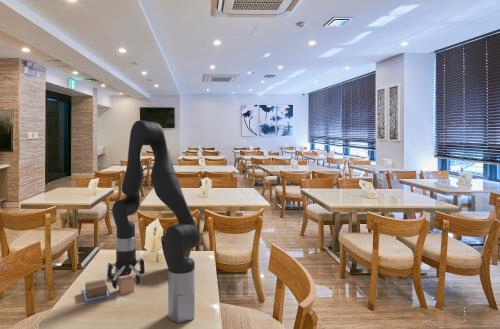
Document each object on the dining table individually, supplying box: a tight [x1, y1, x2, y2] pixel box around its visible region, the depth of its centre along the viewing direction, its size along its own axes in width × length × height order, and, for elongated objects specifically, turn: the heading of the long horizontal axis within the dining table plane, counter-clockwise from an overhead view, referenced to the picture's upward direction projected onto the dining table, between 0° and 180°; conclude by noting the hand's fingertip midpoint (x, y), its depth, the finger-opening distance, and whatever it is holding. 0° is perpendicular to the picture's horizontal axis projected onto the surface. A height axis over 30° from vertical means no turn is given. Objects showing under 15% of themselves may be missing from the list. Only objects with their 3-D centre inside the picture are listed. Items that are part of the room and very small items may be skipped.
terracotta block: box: [118, 274, 135, 296], centre depth 146 cm, size 5×5×6 cm
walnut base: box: [84, 278, 108, 299], centre depth 143 cm, size 7×7×4 cm
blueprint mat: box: [80, 286, 114, 306], centre depth 143 cm, size 14×10×1 cm
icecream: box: [114, 267, 132, 279], centre depth 160 cm, size 7×7×15 cm
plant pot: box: [160, 233, 192, 267], centre depth 170 cm, size 15×15×16 cm
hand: (126, 286), depth 147 cm, fingers open, 8 cm apart
